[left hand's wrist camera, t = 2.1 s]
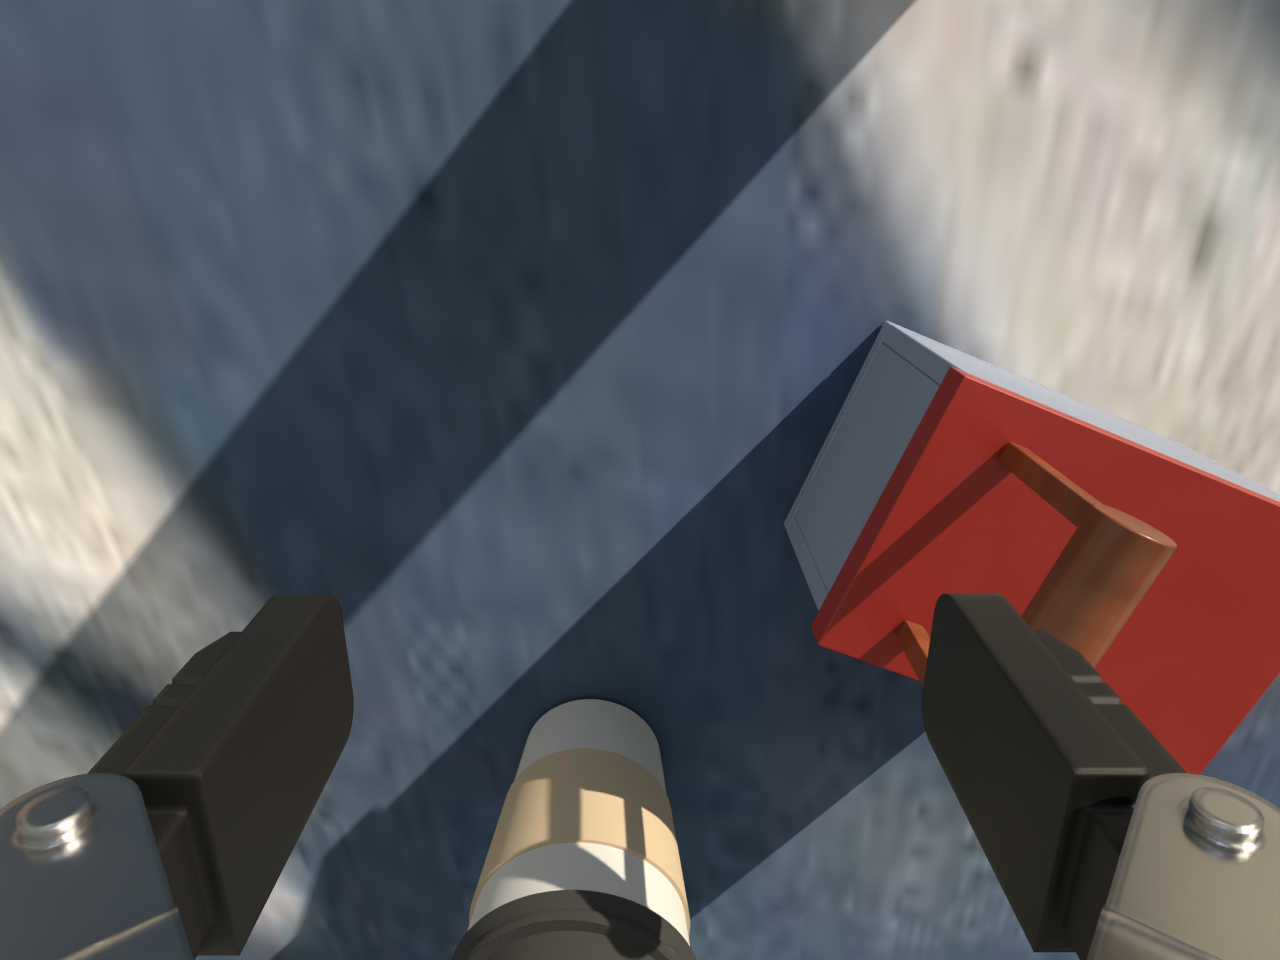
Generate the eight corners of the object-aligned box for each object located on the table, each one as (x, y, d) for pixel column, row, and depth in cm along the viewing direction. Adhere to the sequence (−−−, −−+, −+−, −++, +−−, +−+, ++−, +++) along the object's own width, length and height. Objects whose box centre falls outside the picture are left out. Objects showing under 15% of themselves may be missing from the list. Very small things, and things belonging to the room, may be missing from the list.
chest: (782, 523, 38) (824, 630, 29) (884, 319, 35) (965, 372, 26) (1058, 627, 40) (1174, 756, 31) (1179, 442, 37) (1346, 529, 28)
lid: (809, 625, 29) (873, 800, 21) (950, 365, 26) (1087, 456, 18) (1175, 756, 31) (1359, 962, 23) (1347, 529, 28) (1630, 677, 20)
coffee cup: (556, 851, 44) (518, 1172, 30) (467, 723, 41) (380, 1011, 27) (713, 789, 43) (749, 1094, 29) (632, 651, 40) (629, 916, 26)
